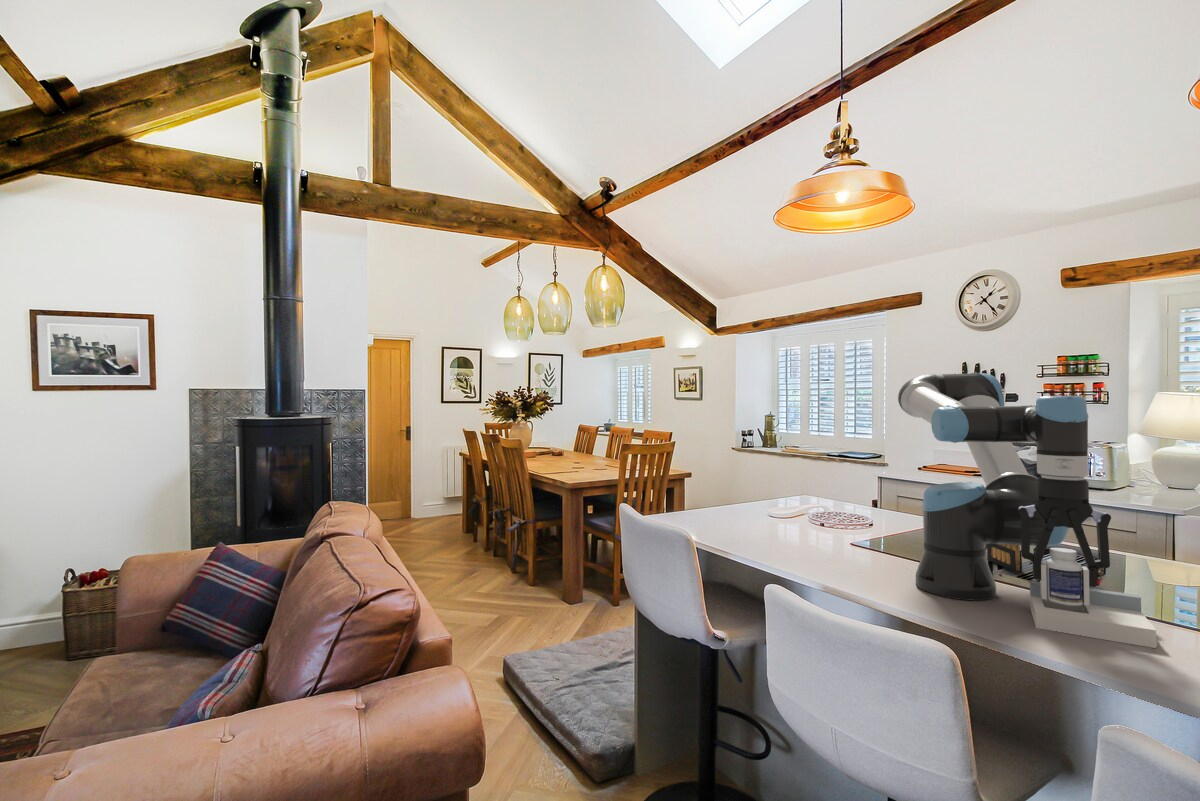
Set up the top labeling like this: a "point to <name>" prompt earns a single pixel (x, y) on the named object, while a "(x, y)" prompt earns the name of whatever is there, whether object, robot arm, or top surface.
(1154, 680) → the top surface
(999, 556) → the ammunition clip
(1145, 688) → the top surface
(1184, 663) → the top surface
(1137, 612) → the white slotted tray
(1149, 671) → the top surface
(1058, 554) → the pill bottle
